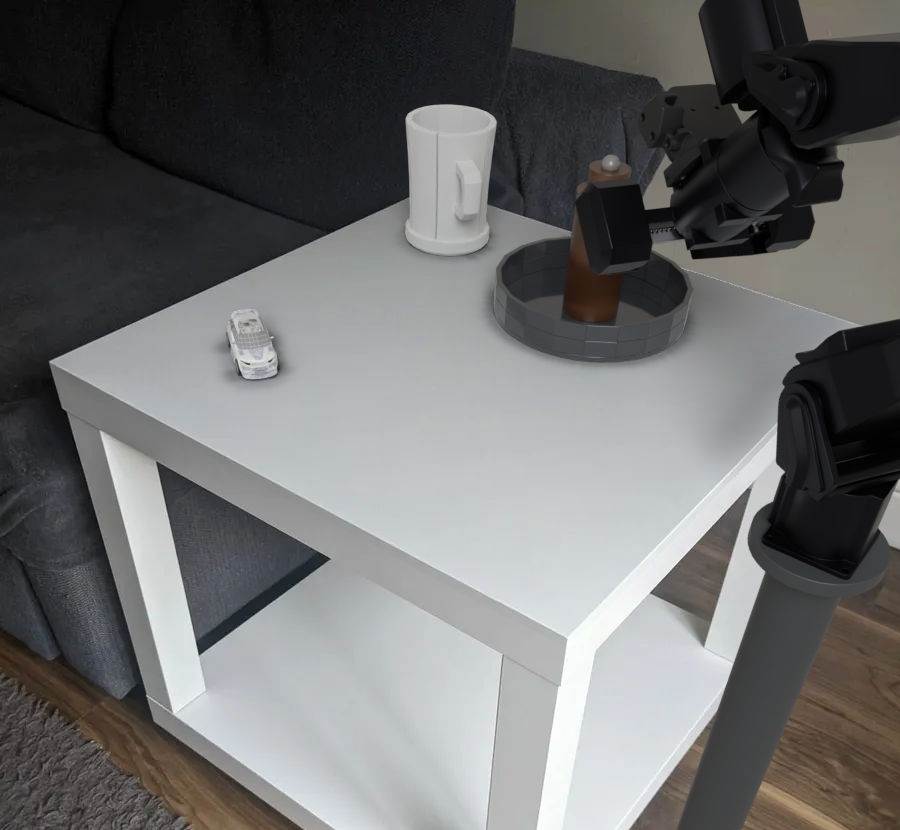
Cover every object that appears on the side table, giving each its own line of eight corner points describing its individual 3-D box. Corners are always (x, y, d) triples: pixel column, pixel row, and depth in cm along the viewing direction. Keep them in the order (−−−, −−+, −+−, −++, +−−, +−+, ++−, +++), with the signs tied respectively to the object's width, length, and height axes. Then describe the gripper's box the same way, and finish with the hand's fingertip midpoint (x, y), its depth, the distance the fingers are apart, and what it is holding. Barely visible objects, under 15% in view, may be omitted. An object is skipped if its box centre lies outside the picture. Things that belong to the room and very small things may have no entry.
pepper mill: (621, 322, 91) (647, 167, 81) (565, 321, 91) (585, 165, 81) (613, 296, 95) (637, 144, 85) (559, 295, 95) (577, 143, 85)
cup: (518, 241, 104) (528, 121, 96) (469, 271, 99) (475, 147, 90) (438, 214, 108) (441, 97, 100) (386, 242, 103) (385, 120, 95)
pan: (717, 308, 95) (725, 273, 93) (625, 385, 84) (631, 348, 82) (558, 253, 102) (562, 220, 100) (455, 318, 92) (457, 282, 89)
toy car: (240, 385, 82) (236, 353, 80) (224, 338, 88) (220, 307, 86) (284, 379, 83) (281, 347, 81) (266, 333, 88) (263, 302, 86)
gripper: (838, 47, 70) (718, 156, 85) (606, 62, 65) (521, 175, 80) (873, 200, 70) (747, 282, 85) (645, 228, 65) (552, 310, 80)
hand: (645, 259), depth 82 cm, fingers open, 9 cm apart
